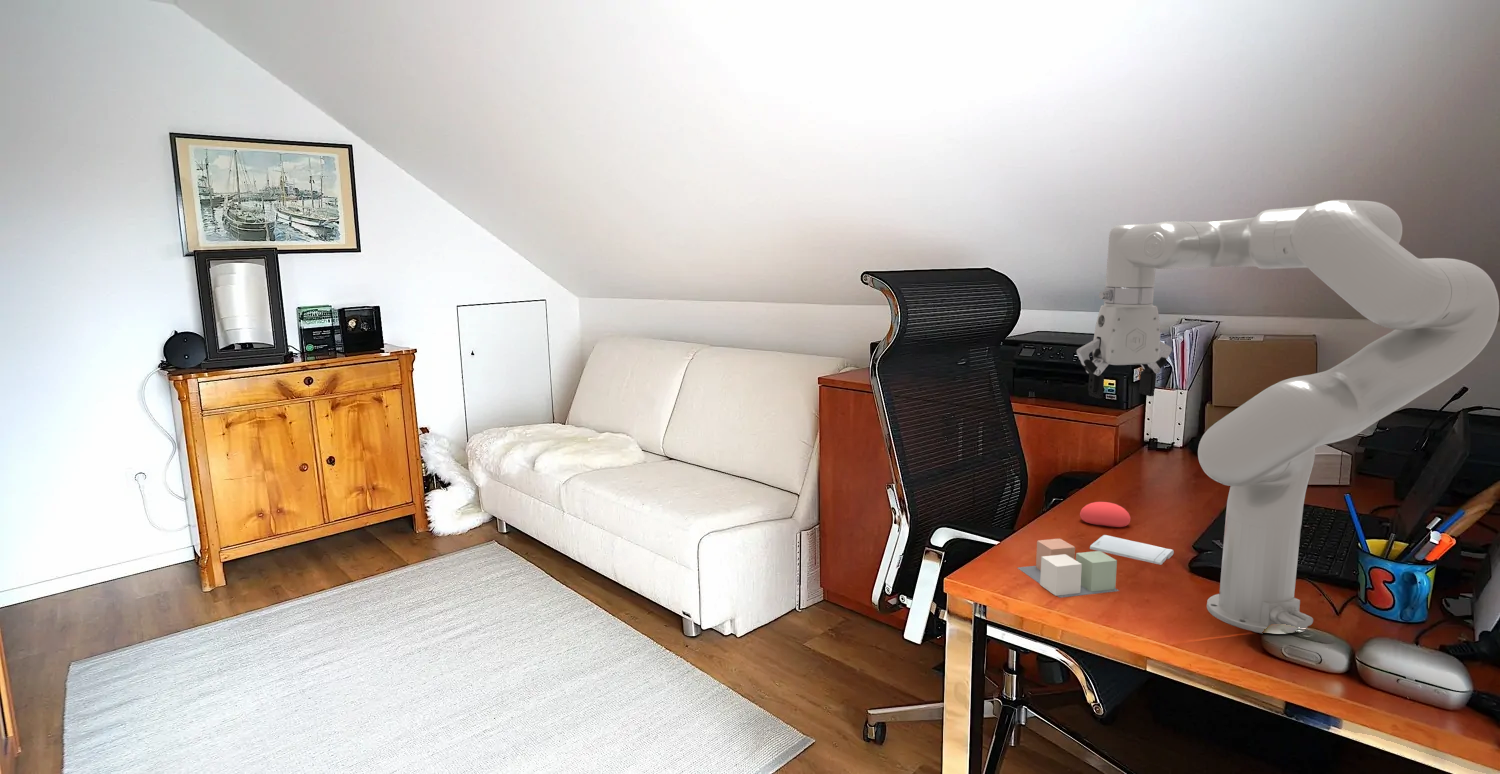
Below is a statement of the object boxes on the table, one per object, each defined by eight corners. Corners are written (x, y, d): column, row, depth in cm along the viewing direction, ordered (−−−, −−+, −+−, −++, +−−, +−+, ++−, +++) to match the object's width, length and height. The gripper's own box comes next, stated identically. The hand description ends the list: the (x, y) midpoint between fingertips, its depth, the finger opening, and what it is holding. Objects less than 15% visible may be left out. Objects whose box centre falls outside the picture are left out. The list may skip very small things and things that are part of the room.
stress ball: (1118, 540, 158) (1133, 512, 158) (1075, 516, 163) (1090, 490, 163) (1119, 540, 163) (1135, 514, 163) (1078, 517, 167) (1093, 492, 167)
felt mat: (1119, 593, 130) (1119, 590, 130) (1059, 599, 128) (1059, 597, 128) (1072, 563, 143) (1072, 561, 143) (1017, 569, 140) (1017, 567, 140)
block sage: (1115, 589, 131) (1117, 560, 130) (1091, 591, 130) (1092, 562, 129) (1098, 578, 135) (1099, 550, 134) (1074, 581, 134) (1076, 553, 133)
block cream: (1080, 592, 129) (1081, 564, 129) (1055, 595, 128) (1056, 566, 128) (1064, 582, 134) (1065, 554, 133) (1040, 584, 133) (1041, 556, 132)
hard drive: (1089, 545, 149) (1161, 561, 140) (1104, 533, 155) (1173, 548, 146) (1089, 553, 149) (1160, 569, 141) (1104, 542, 155) (1173, 556, 147)
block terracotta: (1073, 574, 137) (1075, 547, 136) (1050, 577, 136) (1051, 549, 135) (1058, 565, 141) (1059, 538, 140) (1035, 567, 140) (1037, 540, 139)
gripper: (1094, 300, 130) (1087, 401, 133) (1189, 298, 132) (1180, 398, 135) (1069, 297, 137) (1063, 393, 140) (1160, 295, 140) (1152, 390, 143)
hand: (1121, 395), depth 138 cm, fingers open, 9 cm apart
